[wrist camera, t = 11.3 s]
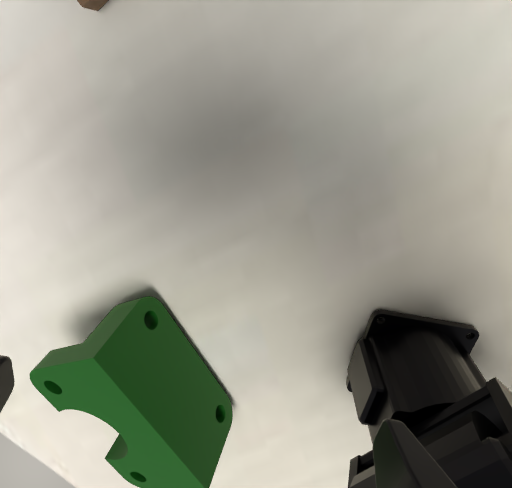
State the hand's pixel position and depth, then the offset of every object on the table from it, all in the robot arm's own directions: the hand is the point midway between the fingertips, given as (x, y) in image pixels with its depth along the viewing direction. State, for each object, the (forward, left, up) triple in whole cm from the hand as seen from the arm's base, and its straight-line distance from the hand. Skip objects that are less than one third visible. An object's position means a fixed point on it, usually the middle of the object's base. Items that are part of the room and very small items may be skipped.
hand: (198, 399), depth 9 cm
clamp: (+4, +13, -13) cm, 19 cm away
